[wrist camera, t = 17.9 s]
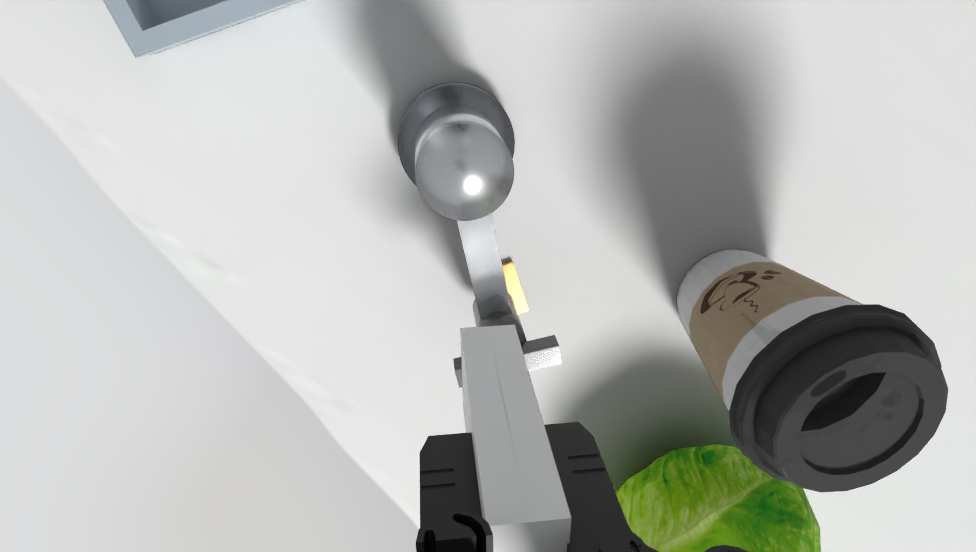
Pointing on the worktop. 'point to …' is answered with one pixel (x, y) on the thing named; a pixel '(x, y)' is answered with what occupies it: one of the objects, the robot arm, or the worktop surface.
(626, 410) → the worktop surface
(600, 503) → the robot arm
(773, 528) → the lettuce
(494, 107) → the crank base
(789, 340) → the coffee cup
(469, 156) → the crank
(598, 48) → the worktop surface
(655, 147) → the worktop surface
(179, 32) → the tray
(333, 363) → the worktop surface
